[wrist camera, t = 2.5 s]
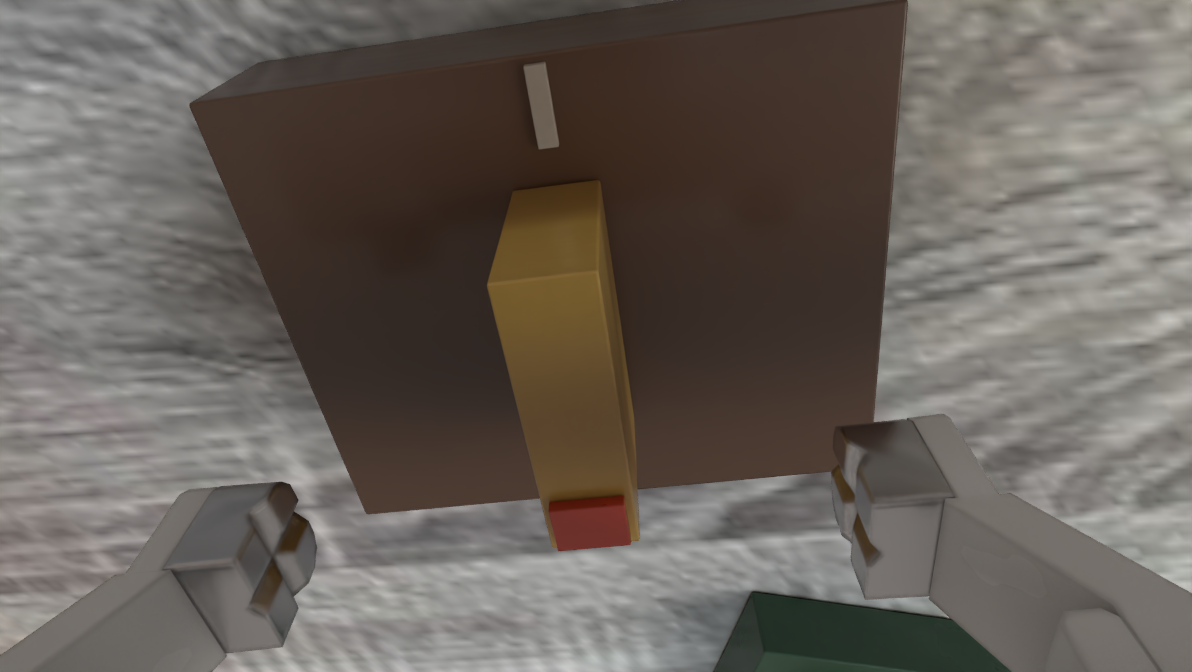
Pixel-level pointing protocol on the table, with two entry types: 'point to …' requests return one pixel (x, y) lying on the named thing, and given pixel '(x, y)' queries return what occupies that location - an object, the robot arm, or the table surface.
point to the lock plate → (633, 217)
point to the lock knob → (568, 362)
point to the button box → (847, 640)
